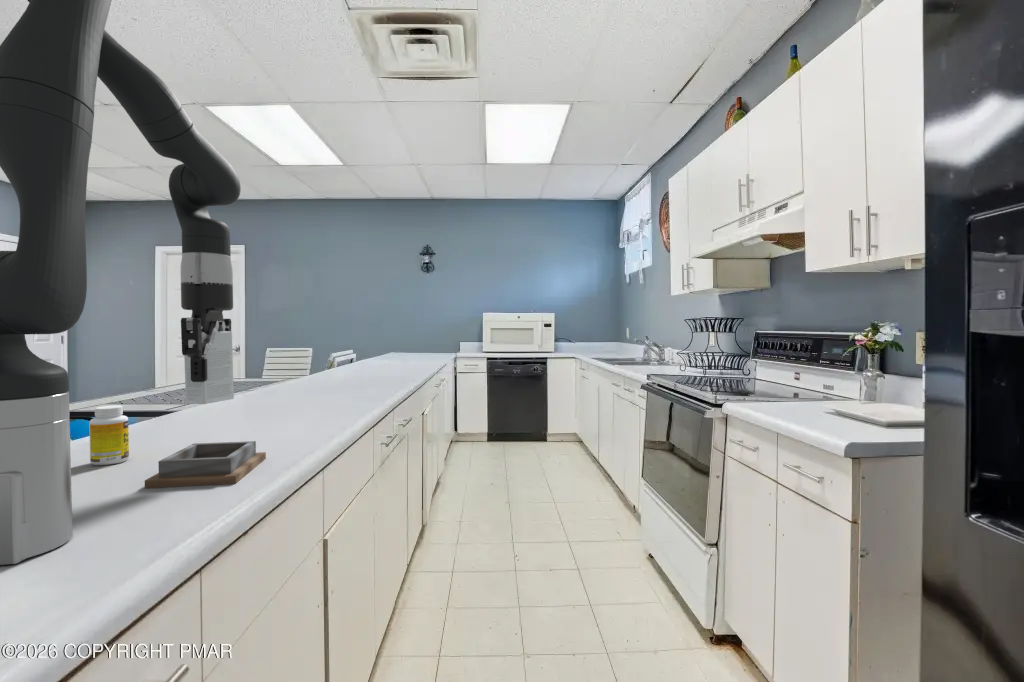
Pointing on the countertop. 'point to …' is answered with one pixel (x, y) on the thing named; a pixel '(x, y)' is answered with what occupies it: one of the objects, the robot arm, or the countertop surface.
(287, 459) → the countertop surface
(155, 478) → the holder
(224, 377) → the skincare box
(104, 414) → the supplement bottle
